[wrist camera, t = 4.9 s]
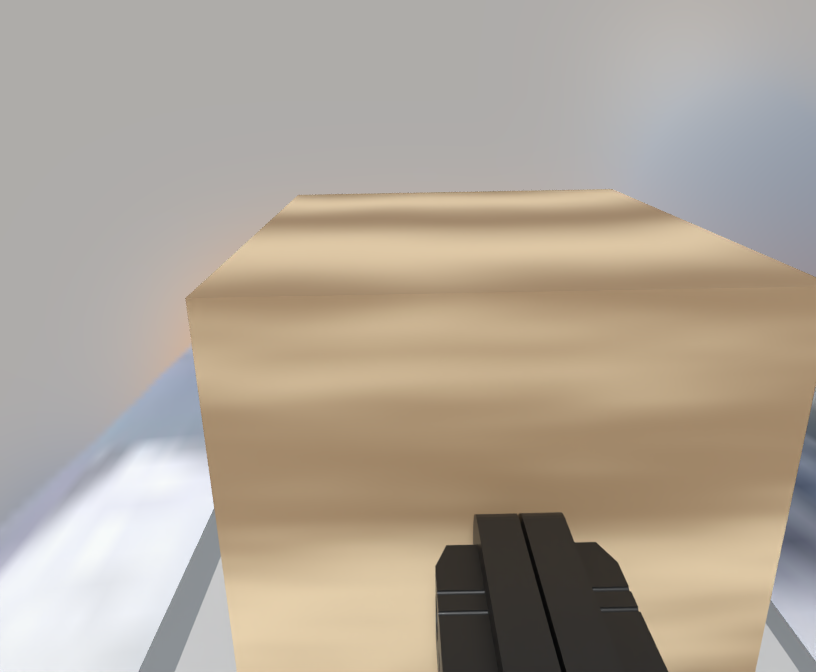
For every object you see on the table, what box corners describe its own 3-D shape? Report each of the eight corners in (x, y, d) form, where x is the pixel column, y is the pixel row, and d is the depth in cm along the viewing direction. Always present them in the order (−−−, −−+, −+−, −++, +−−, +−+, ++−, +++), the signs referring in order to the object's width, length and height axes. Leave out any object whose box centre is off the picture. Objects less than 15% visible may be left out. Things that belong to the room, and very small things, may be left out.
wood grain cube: (732, 777, 14) (836, 286, 10) (252, 786, 14) (185, 298, 10) (587, 477, 26) (612, 189, 22) (319, 482, 26) (298, 194, 22)
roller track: (1008, 992, 12) (1164, 670, 9) (15, 1011, 12) (-103, 694, 9) (583, 364, 40) (592, 241, 38) (288, 369, 40) (277, 247, 38)
